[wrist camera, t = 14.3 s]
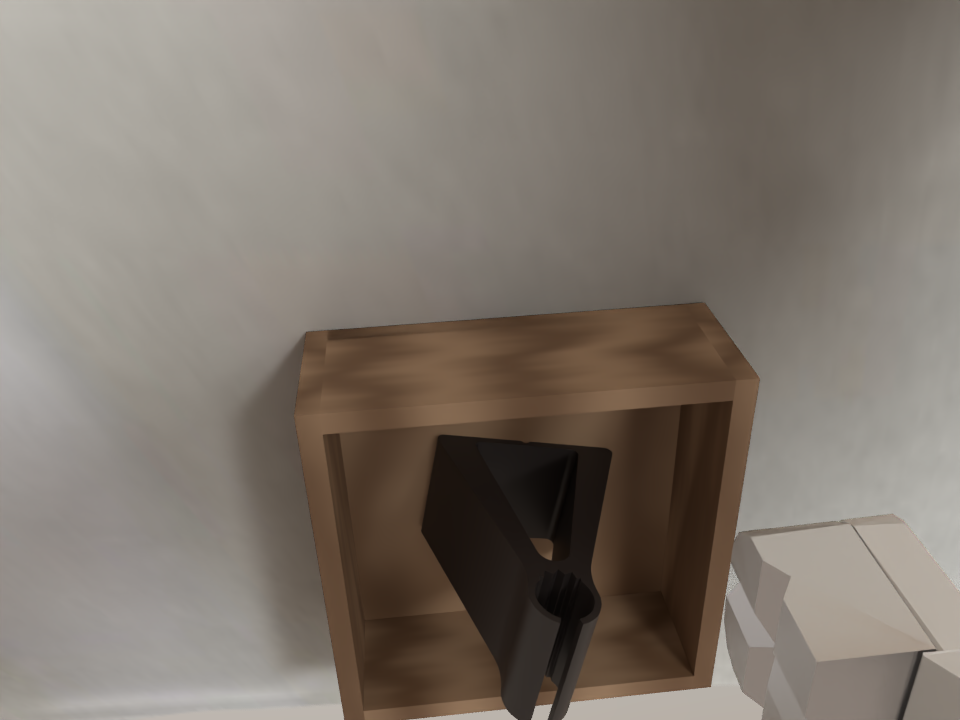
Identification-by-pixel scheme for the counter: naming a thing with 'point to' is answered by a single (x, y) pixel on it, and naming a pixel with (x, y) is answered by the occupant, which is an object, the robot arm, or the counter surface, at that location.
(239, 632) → the counter surface
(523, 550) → the phone stand
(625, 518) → the walnut box
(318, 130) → the counter surface
